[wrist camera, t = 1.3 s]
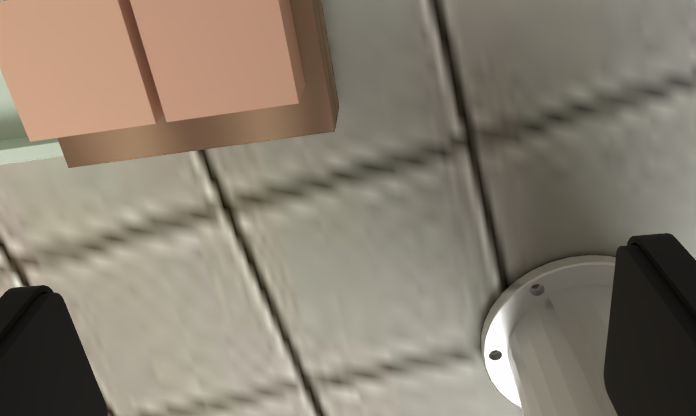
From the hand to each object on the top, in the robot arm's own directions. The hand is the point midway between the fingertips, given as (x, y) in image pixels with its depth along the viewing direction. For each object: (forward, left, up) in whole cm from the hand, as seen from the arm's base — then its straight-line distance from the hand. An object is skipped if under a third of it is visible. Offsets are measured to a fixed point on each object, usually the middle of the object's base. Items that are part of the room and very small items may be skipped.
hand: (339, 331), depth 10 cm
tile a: (+6, -2, -20) cm, 21 cm away
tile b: (+12, -2, -20) cm, 24 cm away
